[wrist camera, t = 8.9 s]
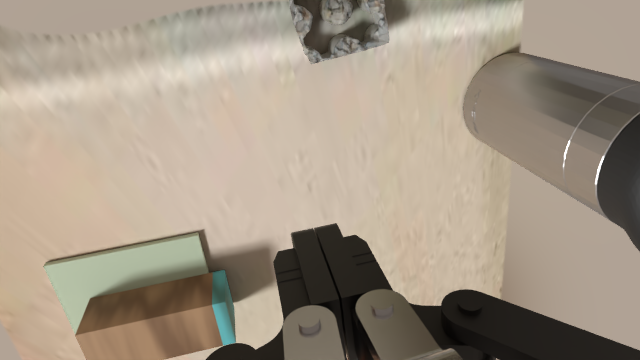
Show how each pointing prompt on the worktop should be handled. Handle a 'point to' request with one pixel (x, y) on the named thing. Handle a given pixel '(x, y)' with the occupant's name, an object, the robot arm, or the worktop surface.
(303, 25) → the grey miniature model
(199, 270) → the sage mat
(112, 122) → the worktop surface
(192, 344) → the walnut block
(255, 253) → the worktop surface
